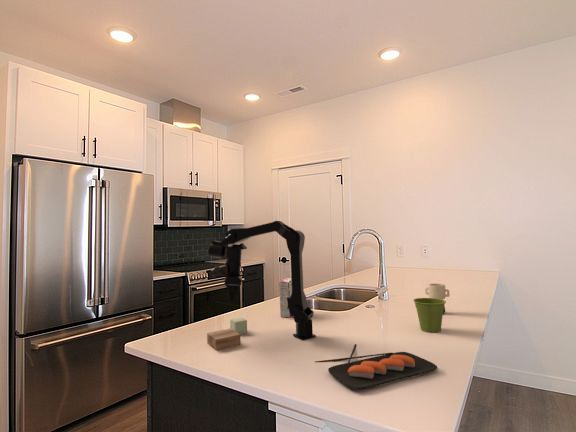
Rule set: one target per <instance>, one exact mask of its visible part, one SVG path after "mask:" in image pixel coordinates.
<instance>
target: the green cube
mask: <svg viewBox="0 0 576 432" xmlns="http://www.w3.org/2000/svg"><path fill="white" fill-rule="evenodd" d="M229 321H230V322H229V323H230V328H229V329H232V330H234V331H235V332H237V333H239V334H240V335H241V334H242V335H243V334H247V333H248V319H245V318H244V317H237V318H231V319H230V320H229Z"/></svg>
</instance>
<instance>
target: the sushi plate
mask: <svg viewBox="0 0 576 432" xmlns="http://www.w3.org/2000/svg"><path fill="white" fill-rule="evenodd" d="M356 347H357V343H355V344H354V346H353V349H352V351H351V354H350V356H349V357H342V358H341V357H340V358H333V359H332V358H331V359H323V360H317V361H316V360H315V361H314V363H326V362H327V363H328V362H329V363H330V362H332V363H333V362H341V361H347V362H345V363H341V364H335V365H332V366H331V367H329V368H328V369H327V371H328V372H329V374H330V375H331V376H333V377H334V378H335V379H337V380H338V381H339V382H340V383H342V384H343V385H345V386H347V388H351V389H353V390H363V389H364V390H365V389H369V388H373V387H376V386H377V387H378V386H382V385H385V384H389V383H394V382H397V381H401V380H404V379H407V378H412V377H415V376H419V375H424V374H427V373H431V372H434V371H436V370H437V369H439V368H438V366H437V365H436V364H435V363H434V362H431V361H428V360H426V359H425V358H423V357H420V356H418V355H416V354H413V353H411V352H406V351H398V352H393V351H392V352H384V353H376V354H368V355H361V356H353V355H354V353H355V350H356ZM362 358H364V359H362ZM353 359H357V360H354V361H351V360H353ZM358 359H359V360H358Z"/></svg>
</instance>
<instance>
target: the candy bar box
mask: <svg viewBox="0 0 576 432" xmlns="http://www.w3.org/2000/svg"><path fill="white" fill-rule="evenodd" d="M278 284H279V285H278V287H279V288H278V289H279V308H280V312H279V313H280V318H291V317H293V316H292V315H291V314H290V313H289V308H288V309H287V307H288V302H287V298H288V297H289V296H291V294H292V279H291V277H289V278H288V277H287V278H283V279H281V281H279V282H278Z"/></svg>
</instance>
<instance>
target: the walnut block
mask: <svg viewBox="0 0 576 432" xmlns="http://www.w3.org/2000/svg"><path fill="white" fill-rule="evenodd" d="M206 335H207V336H206V338H207V339H206V341H207V342H206V343H207V345H208V346H210V347H211V348H213V350H214V351H221V350H225V349H229V348H234V347H238V346H241V345H242V343H241V342H242V341H241V334H239V333H237V332H235V331H234V330H232V329H230V328H226V329H222V330H216V331H210V332H207V333H206Z"/></svg>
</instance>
